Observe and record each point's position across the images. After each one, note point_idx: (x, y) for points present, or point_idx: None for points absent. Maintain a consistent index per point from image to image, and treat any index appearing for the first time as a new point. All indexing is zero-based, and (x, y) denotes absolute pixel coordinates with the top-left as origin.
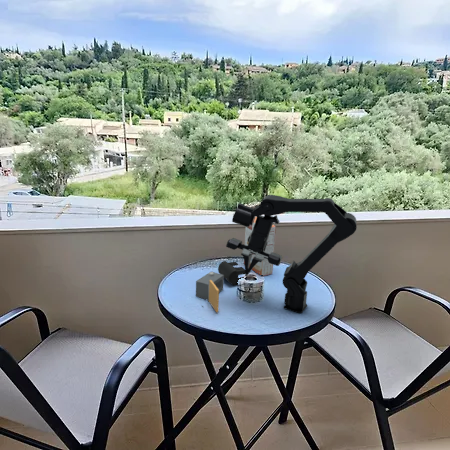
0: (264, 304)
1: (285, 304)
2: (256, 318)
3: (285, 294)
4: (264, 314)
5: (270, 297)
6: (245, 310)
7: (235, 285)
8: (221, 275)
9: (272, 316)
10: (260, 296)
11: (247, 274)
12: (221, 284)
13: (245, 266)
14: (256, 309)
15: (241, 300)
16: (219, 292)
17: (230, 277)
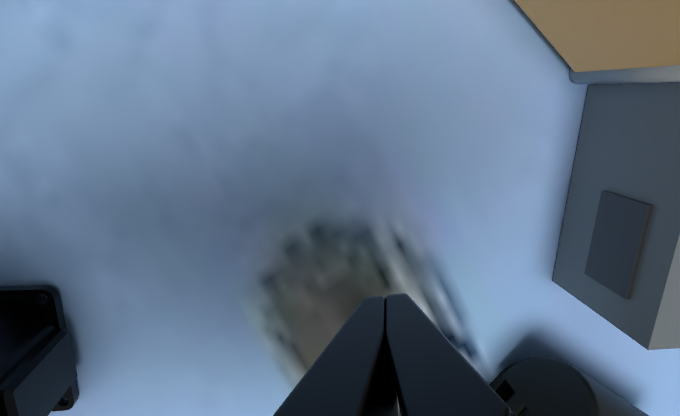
0: (209, 262)
1: (55, 328)
2: (142, 27)
3: (6, 386)
4: (126, 125)
5: (226, 370)
6: (283, 99)
7: (501, 374)
8: (664, 331)
9: (56, 131)
10: (291, 344)
11: (365, 304)
12: (595, 274)
13: (476, 398)
14: (220, 162)
15: (379, 221)
16: (561, 233)
17: (573, 387)
